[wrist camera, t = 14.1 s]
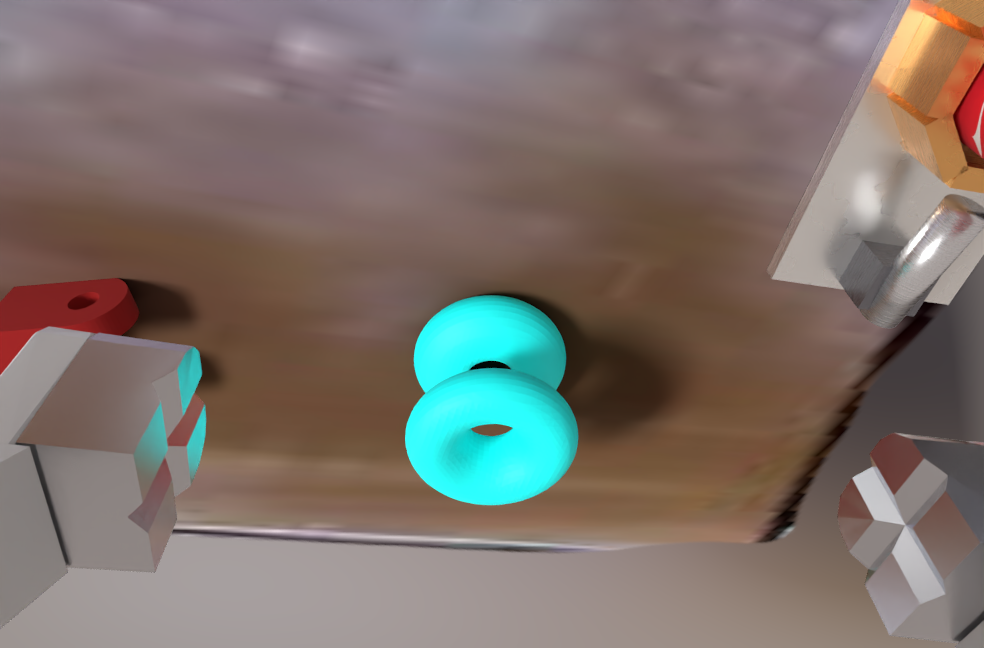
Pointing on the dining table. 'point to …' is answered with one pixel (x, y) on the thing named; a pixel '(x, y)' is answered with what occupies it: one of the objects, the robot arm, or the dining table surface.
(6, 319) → the mechanical linkage
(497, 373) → the donuts
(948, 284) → the coupling base
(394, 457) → the dining table surface
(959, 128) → the beverage can
